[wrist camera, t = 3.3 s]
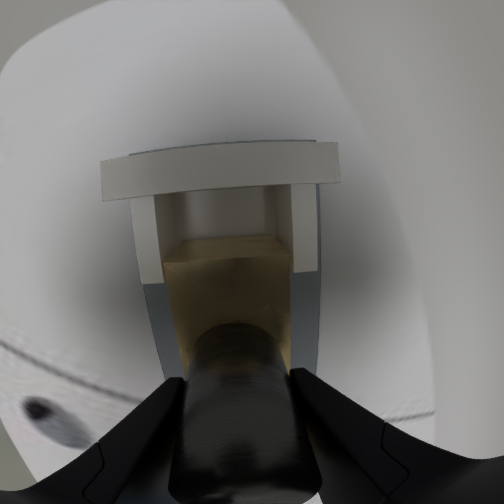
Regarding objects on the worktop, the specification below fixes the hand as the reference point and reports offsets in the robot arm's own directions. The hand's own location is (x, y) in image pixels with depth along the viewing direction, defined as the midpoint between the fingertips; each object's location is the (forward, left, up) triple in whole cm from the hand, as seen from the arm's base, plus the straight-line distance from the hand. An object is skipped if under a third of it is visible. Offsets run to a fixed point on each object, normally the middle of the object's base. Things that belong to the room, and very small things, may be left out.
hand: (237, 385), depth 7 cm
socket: (+5, 0, -8) cm, 9 cm away
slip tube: (-3, 0, -5) cm, 6 cm away
